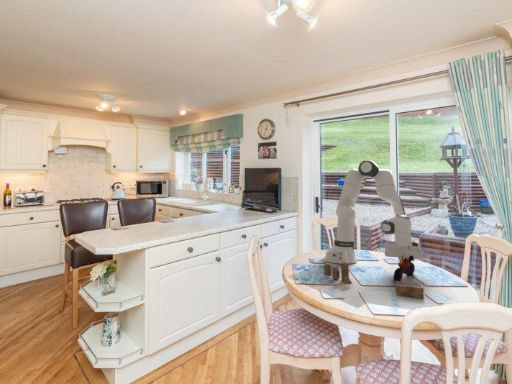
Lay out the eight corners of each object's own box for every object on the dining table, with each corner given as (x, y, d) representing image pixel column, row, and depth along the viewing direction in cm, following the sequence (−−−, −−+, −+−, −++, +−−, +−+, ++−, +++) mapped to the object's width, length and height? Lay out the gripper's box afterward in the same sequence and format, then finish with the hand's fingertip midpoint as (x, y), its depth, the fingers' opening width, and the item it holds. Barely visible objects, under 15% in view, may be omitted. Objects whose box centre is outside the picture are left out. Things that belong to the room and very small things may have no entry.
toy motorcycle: (400, 285, 146) (399, 256, 146) (390, 283, 150) (390, 254, 150) (418, 276, 162) (418, 249, 162) (409, 274, 166) (409, 248, 166)
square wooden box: (397, 295, 132) (397, 285, 132) (395, 288, 142) (395, 278, 142) (423, 299, 128) (423, 288, 128) (419, 291, 138) (419, 281, 138)
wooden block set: (322, 278, 158) (321, 261, 158) (331, 274, 164) (331, 258, 163) (349, 288, 144) (348, 269, 143) (358, 283, 149) (357, 265, 148)
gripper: (384, 241, 164) (384, 264, 165) (423, 244, 156) (423, 268, 156) (383, 240, 170) (383, 262, 170) (421, 242, 162) (421, 265, 162)
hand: (403, 265), depth 163 cm, fingers closed
